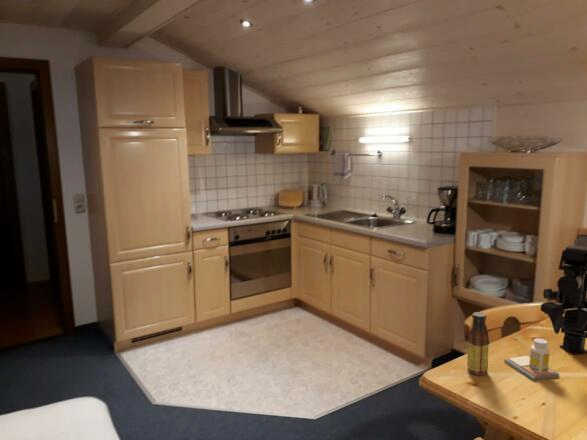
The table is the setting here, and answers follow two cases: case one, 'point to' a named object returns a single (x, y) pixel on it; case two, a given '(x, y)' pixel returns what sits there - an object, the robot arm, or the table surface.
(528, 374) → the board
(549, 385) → the table surface
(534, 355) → the supplement bottle
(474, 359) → the sauce bottle
